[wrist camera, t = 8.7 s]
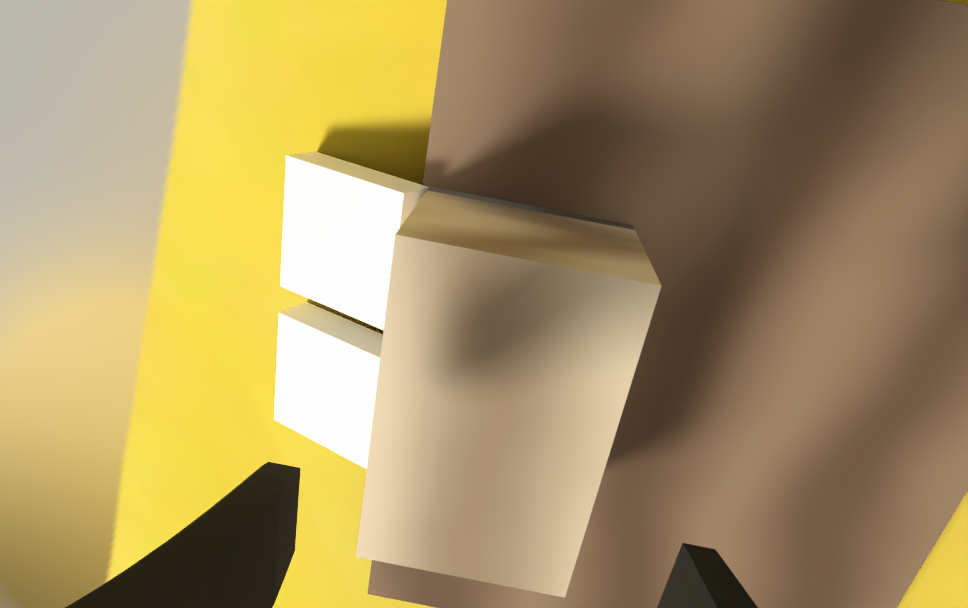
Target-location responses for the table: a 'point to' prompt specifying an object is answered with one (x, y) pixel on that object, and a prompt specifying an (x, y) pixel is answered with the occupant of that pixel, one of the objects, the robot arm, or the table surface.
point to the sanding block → (500, 387)
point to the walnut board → (743, 275)
